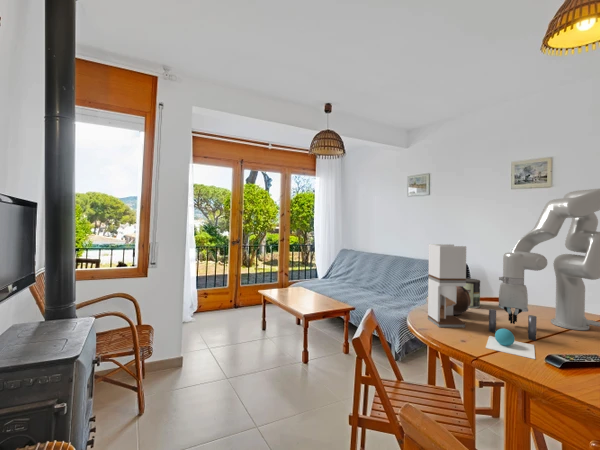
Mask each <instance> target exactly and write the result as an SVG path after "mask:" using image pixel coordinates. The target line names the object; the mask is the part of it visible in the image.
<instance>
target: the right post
mask: <svg viewBox="0 0 600 450" xmlns="http://www.w3.org/2000/svg"><path fill="white" fill-rule="evenodd" d="M527 318H528V321H527V323H528V325H527V326H528V327H527V339H528V340H530V341H537V322H538V321H537V320H538V319H537V316H535V315H533V314H531V315H530V314H528V316H527Z"/></svg>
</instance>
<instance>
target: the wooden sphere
mask: <svg viewBox="0 0 600 450" xmlns="http://www.w3.org/2000/svg"><path fill="white" fill-rule="evenodd" d="M456 287H457V295H456V305H453V316H454V315H456V316H457V315H462V314H464V313H465V312H467V310H469V309H470V308H469V307H470V304H471V298H470V295H469V293H468V291H467V290H466V289H465V288H464V287H462V286H456Z"/></svg>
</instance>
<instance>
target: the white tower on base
mask: <svg viewBox="0 0 600 450" xmlns="http://www.w3.org/2000/svg"><path fill="white" fill-rule="evenodd" d="M466 278H467V246H466V245H465V246H463V245H461V246H460V245H458V246H457V245H455V244H451V243H449V244H448V243H447V244H443V243H441V244H435V243H433V244H430V243H429V244H428V278H427V279H428V287H427V288H428V289H427V290H428V291H427V292H428V293H427V297H428V298H427V320H428V321H430V322H431V323H432V322H433V323H432V324H434V325H435V326H436V325H437V326H436V327H438V328H466V322H465V321H463V320H461V319H460V318H458V317H457V316H454V314H453V305H456V295H457V287H456V286H466Z"/></svg>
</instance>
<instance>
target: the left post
mask: <svg viewBox="0 0 600 450" xmlns="http://www.w3.org/2000/svg"><path fill="white" fill-rule="evenodd" d="M496 331H497V310H496V309H494V308H489V309H488V332H490V333H496Z"/></svg>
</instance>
